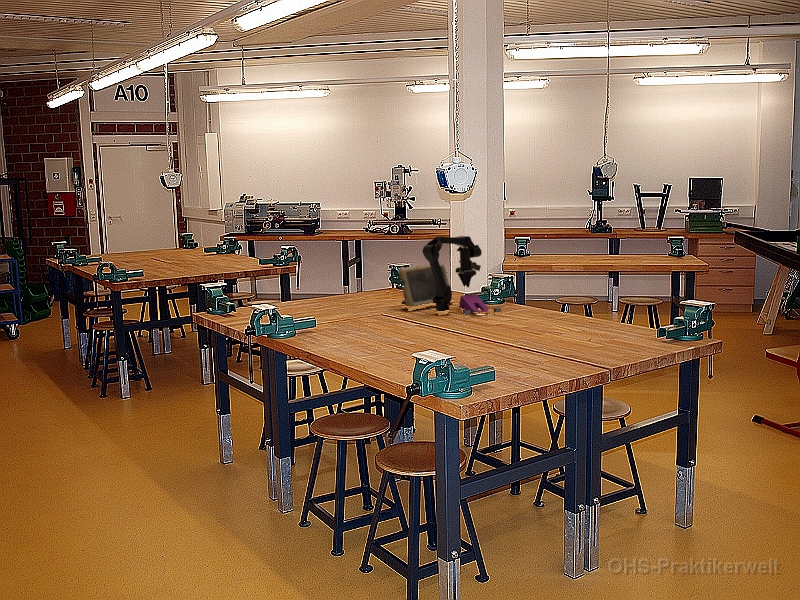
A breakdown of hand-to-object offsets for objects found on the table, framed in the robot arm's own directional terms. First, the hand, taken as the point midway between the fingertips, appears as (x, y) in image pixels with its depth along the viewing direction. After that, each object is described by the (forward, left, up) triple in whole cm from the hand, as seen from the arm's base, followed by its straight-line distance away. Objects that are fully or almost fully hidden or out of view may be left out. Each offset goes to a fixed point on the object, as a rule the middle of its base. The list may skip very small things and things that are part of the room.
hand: (466, 286), depth 456 cm
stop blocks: (0, -25, -13) cm, 28 cm away
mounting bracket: (0, -14, -14) cm, 19 cm away
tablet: (-18, +21, -13) cm, 30 cm away
